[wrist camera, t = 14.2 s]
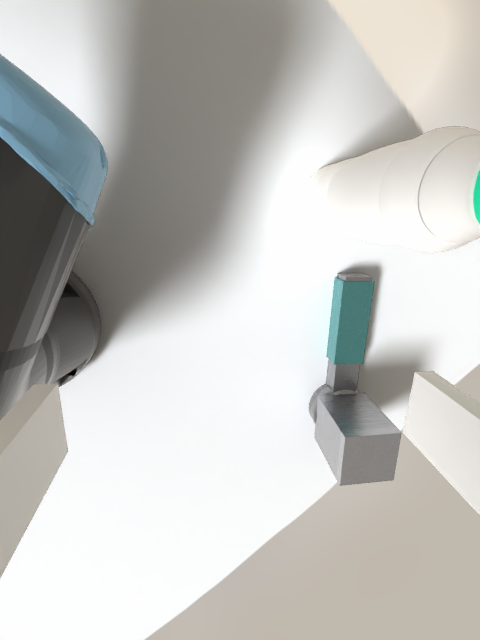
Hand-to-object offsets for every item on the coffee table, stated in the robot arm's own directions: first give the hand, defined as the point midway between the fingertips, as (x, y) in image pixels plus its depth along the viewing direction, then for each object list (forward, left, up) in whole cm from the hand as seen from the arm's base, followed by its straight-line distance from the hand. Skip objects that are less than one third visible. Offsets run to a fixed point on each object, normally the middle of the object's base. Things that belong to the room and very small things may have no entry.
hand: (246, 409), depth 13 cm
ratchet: (+16, -10, -27) cm, 33 cm away
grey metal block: (+16, -17, -24) cm, 34 cm away
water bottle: (+13, +8, -27) cm, 31 cm away
